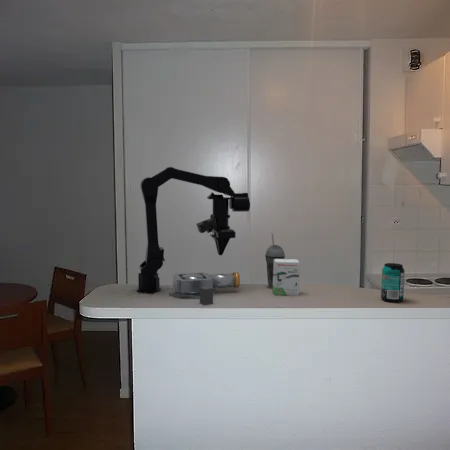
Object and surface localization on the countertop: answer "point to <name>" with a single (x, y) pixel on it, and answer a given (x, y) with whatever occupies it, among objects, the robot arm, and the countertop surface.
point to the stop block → (206, 295)
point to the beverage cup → (272, 254)
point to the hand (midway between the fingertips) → (220, 254)
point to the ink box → (286, 277)
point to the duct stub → (189, 294)
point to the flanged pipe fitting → (205, 281)
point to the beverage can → (392, 282)
